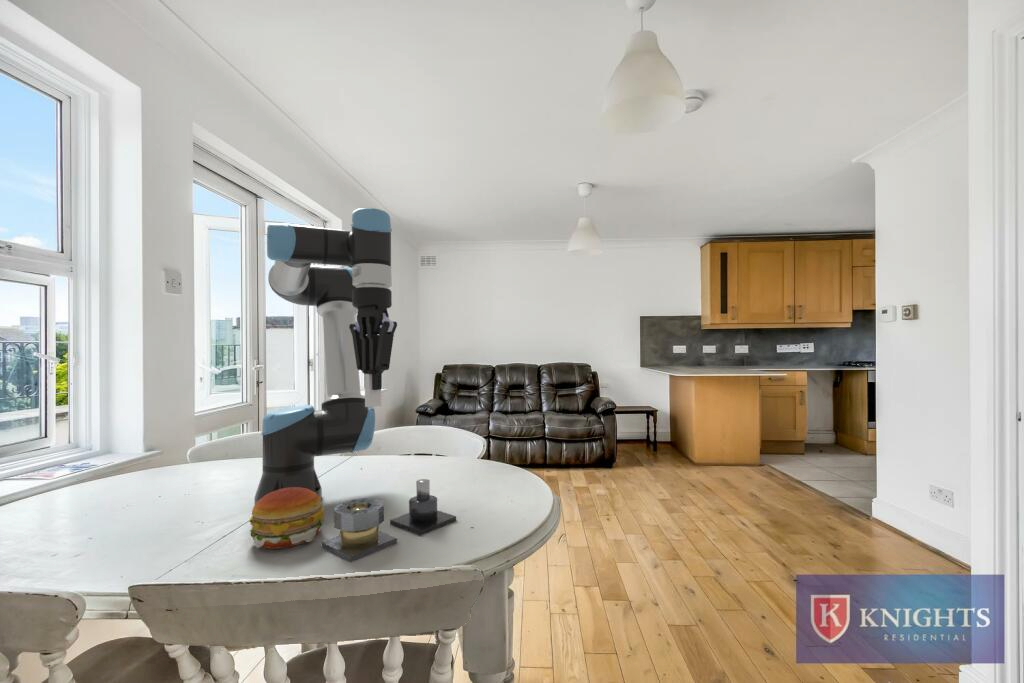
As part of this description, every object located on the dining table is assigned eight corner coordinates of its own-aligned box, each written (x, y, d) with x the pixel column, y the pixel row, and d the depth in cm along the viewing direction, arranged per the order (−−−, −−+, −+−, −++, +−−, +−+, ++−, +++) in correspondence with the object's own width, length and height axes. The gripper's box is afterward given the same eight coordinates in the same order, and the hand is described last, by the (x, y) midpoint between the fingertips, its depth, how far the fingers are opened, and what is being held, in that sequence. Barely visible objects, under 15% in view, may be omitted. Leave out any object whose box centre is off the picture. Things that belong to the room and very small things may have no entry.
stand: (390, 524, 99) (389, 482, 99) (425, 511, 107) (425, 472, 107) (420, 535, 92) (420, 491, 93) (456, 520, 100) (455, 479, 100)
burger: (297, 522, 101) (297, 476, 101) (339, 534, 94) (338, 485, 94) (235, 545, 89) (234, 493, 90) (277, 561, 83) (276, 505, 83)
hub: (321, 547, 88) (321, 510, 88) (367, 530, 95) (366, 496, 96) (350, 562, 81) (350, 522, 82) (397, 543, 89) (396, 506, 89)
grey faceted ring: (334, 517, 91) (334, 502, 91) (381, 510, 94) (381, 496, 94) (334, 534, 83) (334, 517, 83) (385, 526, 86) (385, 510, 86)
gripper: (337, 289, 93) (338, 406, 93) (375, 282, 85) (376, 410, 84) (369, 292, 99) (370, 402, 98) (407, 286, 91) (409, 406, 90)
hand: (373, 406), depth 91 cm, fingers closed
